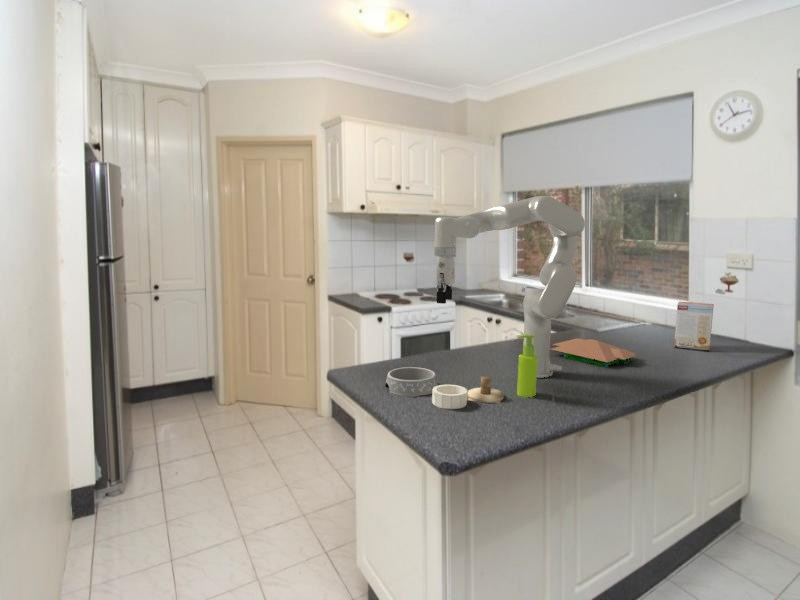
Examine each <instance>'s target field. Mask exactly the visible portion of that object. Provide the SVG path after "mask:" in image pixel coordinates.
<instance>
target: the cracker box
mask: <svg viewBox="0 0 800 600" xmlns="http://www.w3.org/2000/svg"><path fill="white" fill-rule="evenodd" d="M714 305H715V304H713V303H704V302H703V303H702V302H693V301H692V302H691V301H690V302H689V301H678V302H677V307H676V309H677V311H676V317H675V320H676V321H675V330H674V345H677V346H687V347H695V348H705V349H711V348H710V347H711V339H712V338H711V337H712V329H713V327H712V326H713V318H714V314H713V313H714ZM674 345H673V346H674Z"/></svg>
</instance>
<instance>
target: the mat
mask: <svg viewBox="0 0 800 600" xmlns="http://www.w3.org/2000/svg"><path fill="white" fill-rule="evenodd" d="M467 401H471V402H475V401H474V400H472V399H470V398H469V397H467ZM501 401H502V400H501ZM501 401H499V402H493V403H492V404H500V405H501V403H502V402H501Z"/></svg>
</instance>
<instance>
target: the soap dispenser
mask: <svg viewBox="0 0 800 600" xmlns="http://www.w3.org/2000/svg"><path fill="white" fill-rule="evenodd" d="M516 338H518V339H522V338H523V339H524V338H526V344H524V345H522V347H523V348H522V354H519V355H518V365H517V386H516V387H517V388H516V394H517V396H519V397H521V396H523V397H522V398H528V397H530V398H534V397H533V396H535V395H537V379H538V378H537V361H538V357H537V356H536V355H534V345H532V338H534V336H533V335H528V334H524V333H523V334H518V335H516ZM535 397H536V396H535Z"/></svg>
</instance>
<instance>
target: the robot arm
mask: <svg viewBox="0 0 800 600" xmlns="http://www.w3.org/2000/svg"><path fill="white" fill-rule="evenodd" d="M538 221H539V222H540V221H542V222H545V223H547V224H548V229H549V232H550V234H551V235H552V240H553V242H552V248H551V250H550V251H549V254H548V256H547V258H546V260H545V262H544V263H543V266H542V268H541V269H540V272H539V276H538V277H539V282H540V283H541V284H542V285H543V286H545V287H544V288H537V287H536V288H532V289H530V290H528V291H527V293H526V294H525V295H524V297H523V302H522V303H523V304H522V305H523V306H522V307H523V316H524V319H523V321H524V322H523V324H524V325H523V326H524V327H523V334H528V335H533V336H534V338H532V345H534V355H536V356H537V357H538V361H537V379H539V378H541V379H542V378H543V379H544V377H545V378H549V376H550V377H552V376H553V375H554V372H555V371H556V372H562V371H563V370H562V369H563V366H562V365H559V364H552V363H551V360H550V352H551V351H550V350H551V337H552V321H551V320H553V319H555V318H557V317H558V316H559V315H560V314H561V313H562V312H563V310H564V309H565V307H566V305H567V303H568V302H569V299H570V297H571V295H572V293H573V291H574V289H575V287H576V284H577V280H578V279H577V278H578V275H577V271H576V270H575V268H574V267H573V266H572V263H573V262H574V259H575V257H576V255H577V250H578V241H577V236H579V235H580V234H581V233H582V232H583V231H584V229H585V228H586V227H585V226H586V220H585V219H584V217H583V215H582V214H581V213H580V212H578V211H577V210H575V209H573V208H572V207H569V206H568V205H566V204H564V203H563V202H561V201H560V200H558V199H556V198H554V197H552V196H549V195H539V196H533V197H529V198H525V199H521V200H517V201H513V202H510V203H506V204H502V205H499V206H495V207H492V208H489V209H486V210H483V211H478V212H474V213H470V214H466V215H463V216H459V217H453V216H440V217H436V218H435V220H434V258H436V271H435V282H436V304H443V305H445V304H446V303H447V300H449V301H450V300H452V299H453V285H454V284H455V283H456V274H455V273H456V269H455V268H456V265H455V258H456V257H457V238H462V239H473V238H475V237H477V236H478V235H479V234H481V233H485V232H490V231H503V230H510V229H512V228H515V227H520V226H524V225H526V224H531V223H534V222H538ZM524 344H526V338H523V345H524ZM523 345H522V346H523Z"/></svg>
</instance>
